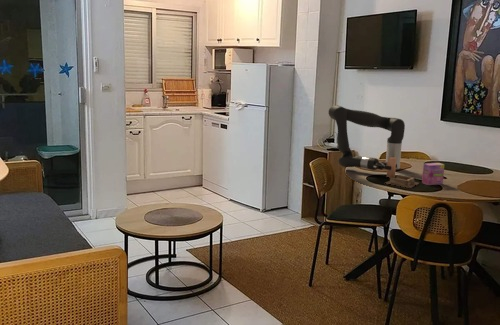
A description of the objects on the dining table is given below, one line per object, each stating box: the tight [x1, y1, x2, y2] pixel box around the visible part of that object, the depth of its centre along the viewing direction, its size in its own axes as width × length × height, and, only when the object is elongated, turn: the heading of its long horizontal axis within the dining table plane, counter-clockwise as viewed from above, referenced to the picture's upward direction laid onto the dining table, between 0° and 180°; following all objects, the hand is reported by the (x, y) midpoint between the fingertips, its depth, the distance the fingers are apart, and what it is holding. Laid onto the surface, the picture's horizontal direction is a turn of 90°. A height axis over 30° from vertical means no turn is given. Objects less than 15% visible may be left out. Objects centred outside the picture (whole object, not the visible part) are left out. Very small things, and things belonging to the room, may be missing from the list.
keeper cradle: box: [385, 174, 420, 189], centre depth 287 cm, size 14×15×4 cm
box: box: [421, 162, 446, 186], centre depth 288 cm, size 10×6×12 cm, turn 105°
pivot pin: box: [386, 157, 397, 179], centre depth 303 cm, size 5×5×12 cm
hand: (394, 167), depth 301 cm, fingers open, 8 cm apart
